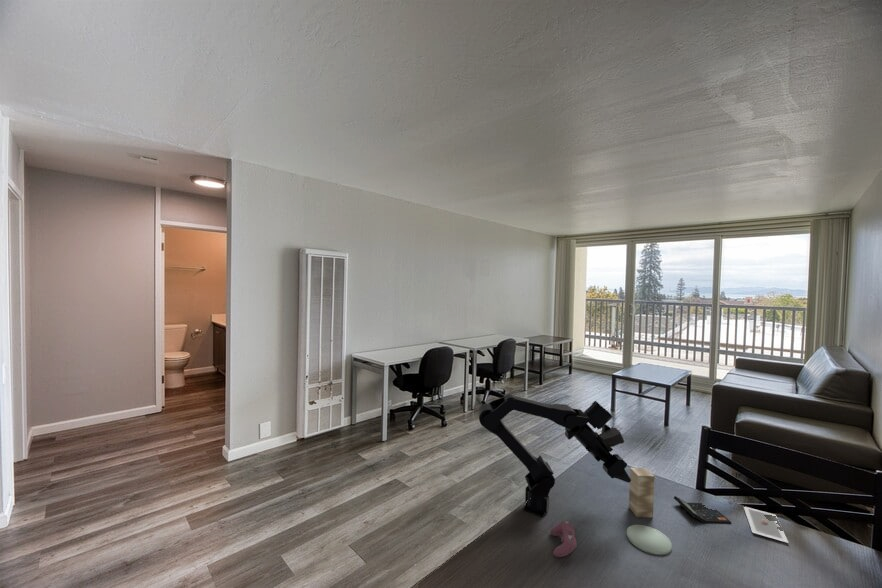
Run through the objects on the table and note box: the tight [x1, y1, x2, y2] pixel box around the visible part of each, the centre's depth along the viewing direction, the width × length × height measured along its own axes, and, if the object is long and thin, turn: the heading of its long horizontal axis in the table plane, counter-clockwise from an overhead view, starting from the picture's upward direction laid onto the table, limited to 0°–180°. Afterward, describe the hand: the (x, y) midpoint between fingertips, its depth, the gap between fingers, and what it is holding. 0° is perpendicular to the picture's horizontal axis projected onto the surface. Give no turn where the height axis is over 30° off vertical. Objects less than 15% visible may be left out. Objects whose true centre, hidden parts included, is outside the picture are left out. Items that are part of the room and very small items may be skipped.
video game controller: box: [550, 520, 577, 558], centre depth 99 cm, size 10×5×7 cm, turn 169°
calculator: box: [673, 495, 732, 525], centre depth 115 cm, size 9×12×3 cm
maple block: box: [628, 467, 655, 518], centre depth 115 cm, size 5×5×13 cm
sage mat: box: [626, 524, 673, 556], centre depth 102 cm, size 11×11×1 cm
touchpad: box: [743, 506, 790, 544], centre depth 110 cm, size 8×15×2 cm, turn 148°
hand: (622, 473), depth 115 cm, fingers open, 9 cm apart
